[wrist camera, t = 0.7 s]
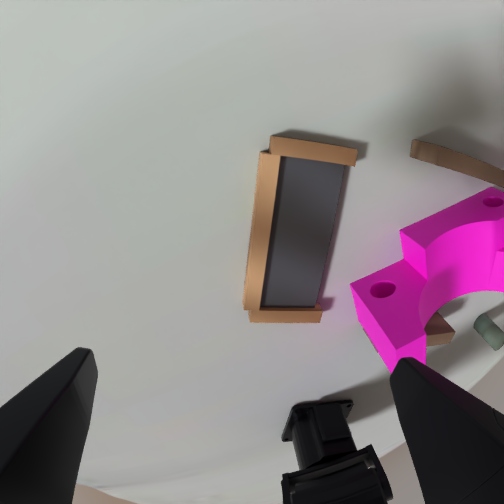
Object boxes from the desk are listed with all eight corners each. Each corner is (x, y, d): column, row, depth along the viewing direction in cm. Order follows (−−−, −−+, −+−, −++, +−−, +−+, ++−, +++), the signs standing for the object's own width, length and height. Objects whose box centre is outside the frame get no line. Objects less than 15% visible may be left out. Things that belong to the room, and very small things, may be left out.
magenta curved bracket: (489, 186, 20) (554, 216, 13) (490, 248, 22) (543, 286, 16) (341, 254, 21) (392, 318, 14) (357, 318, 23) (398, 386, 16)
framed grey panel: (481, 328, 26) (501, 349, 23) (237, 345, 23) (242, 384, 19) (534, 171, 19) (563, 183, 16) (267, 84, 15) (282, 75, 12)
